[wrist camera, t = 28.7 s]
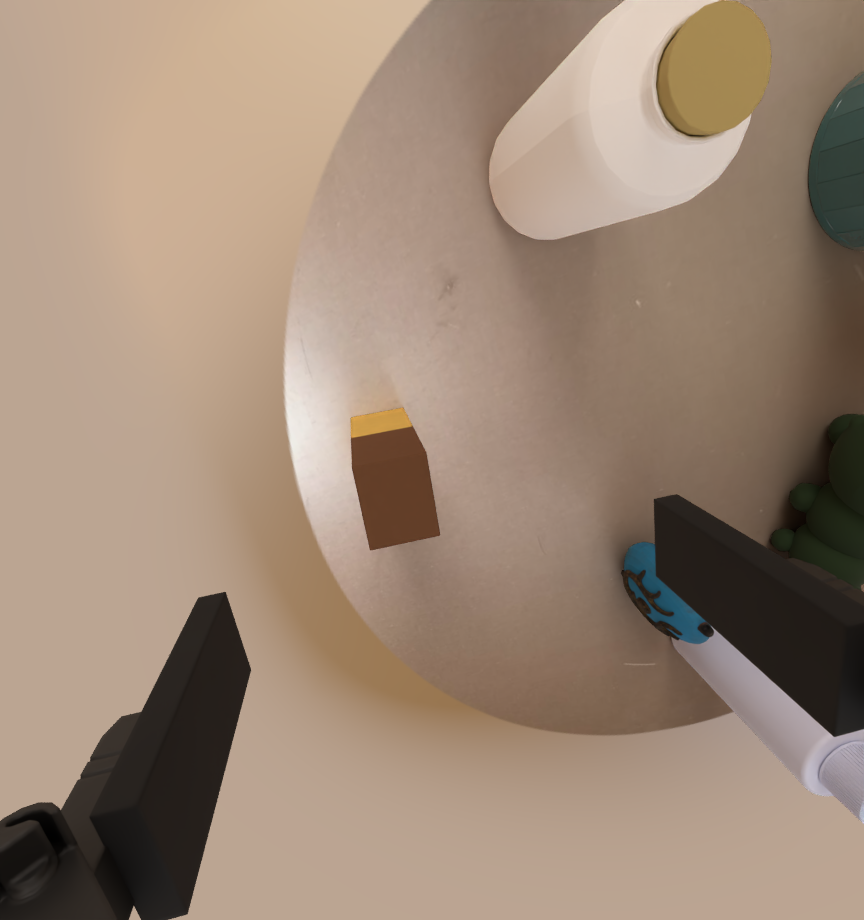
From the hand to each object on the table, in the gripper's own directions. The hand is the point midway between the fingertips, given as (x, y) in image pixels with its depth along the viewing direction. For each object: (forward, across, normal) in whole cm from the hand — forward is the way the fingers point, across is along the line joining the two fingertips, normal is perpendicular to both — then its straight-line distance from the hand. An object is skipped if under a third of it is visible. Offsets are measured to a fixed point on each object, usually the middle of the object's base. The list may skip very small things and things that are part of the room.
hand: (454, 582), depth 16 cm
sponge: (+25, -1, -2) cm, 25 cm away
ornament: (+25, +19, -18) cm, 36 cm away
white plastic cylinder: (+25, +13, +14) cm, 32 cm away
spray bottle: (+25, +25, -26) cm, 44 cm away
